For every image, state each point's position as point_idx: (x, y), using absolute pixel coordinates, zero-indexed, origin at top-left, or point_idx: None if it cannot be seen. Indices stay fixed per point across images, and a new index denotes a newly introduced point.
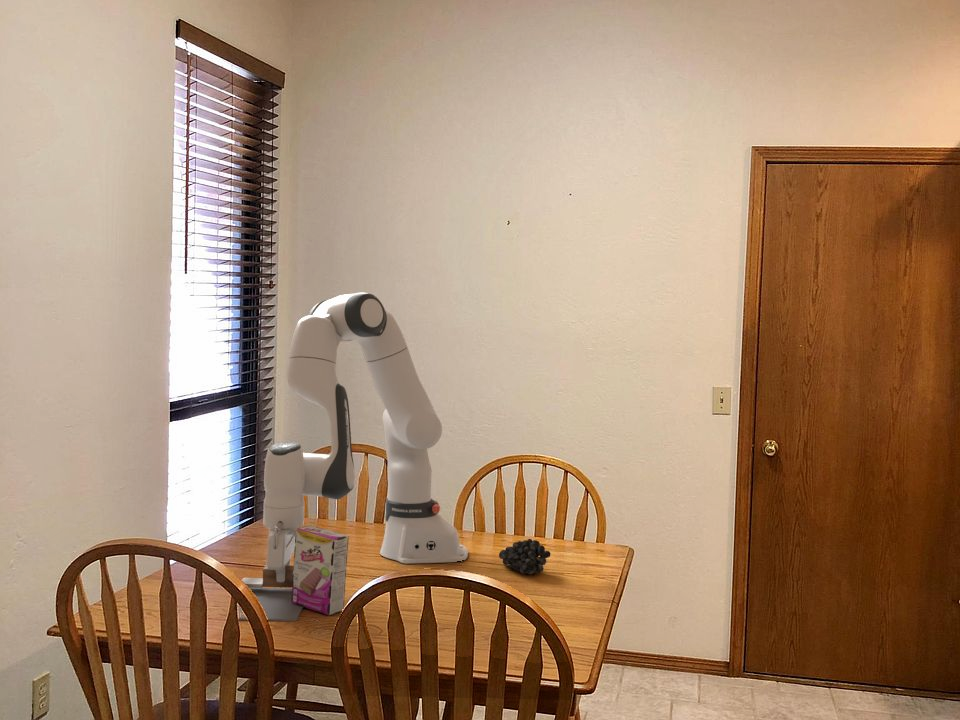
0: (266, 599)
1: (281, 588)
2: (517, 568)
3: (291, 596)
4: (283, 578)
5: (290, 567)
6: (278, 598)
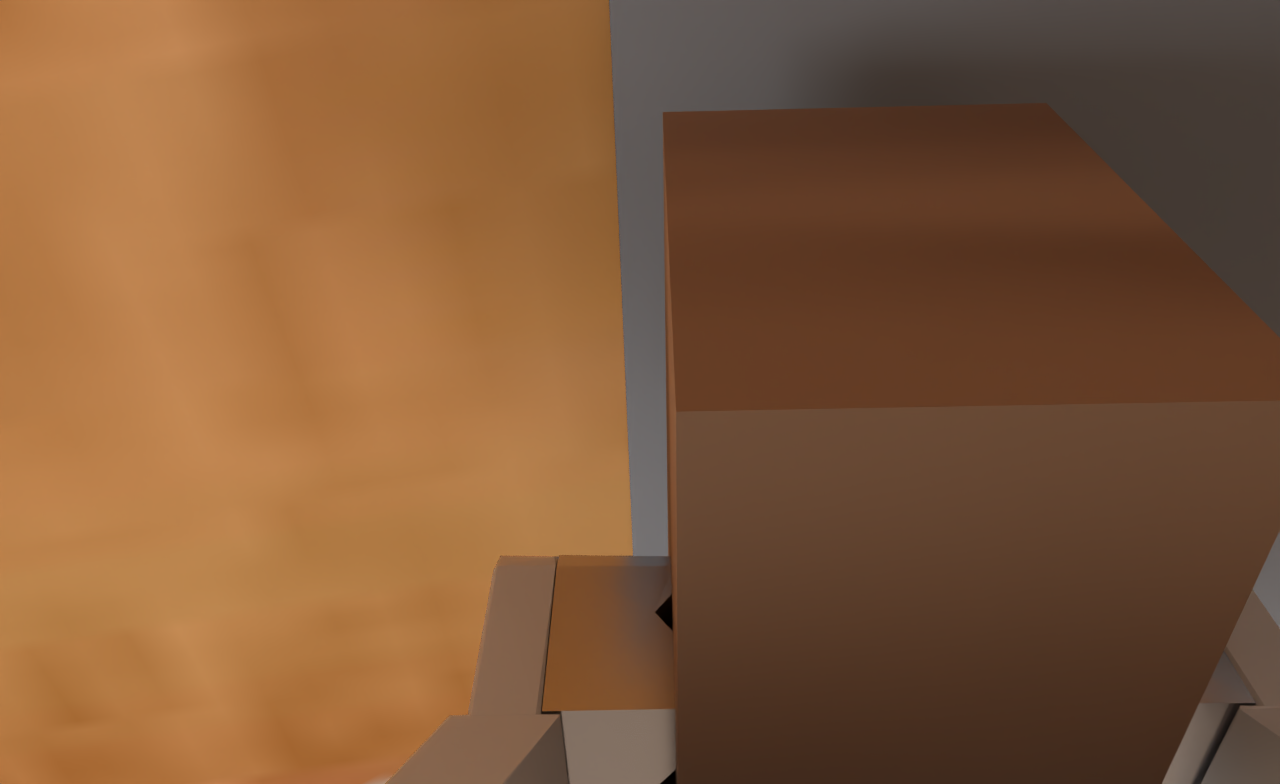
0: (1277, 556)
1: (639, 450)
2: None
3: (1190, 185)
4: (1252, 622)
5: (902, 719)
6: None
